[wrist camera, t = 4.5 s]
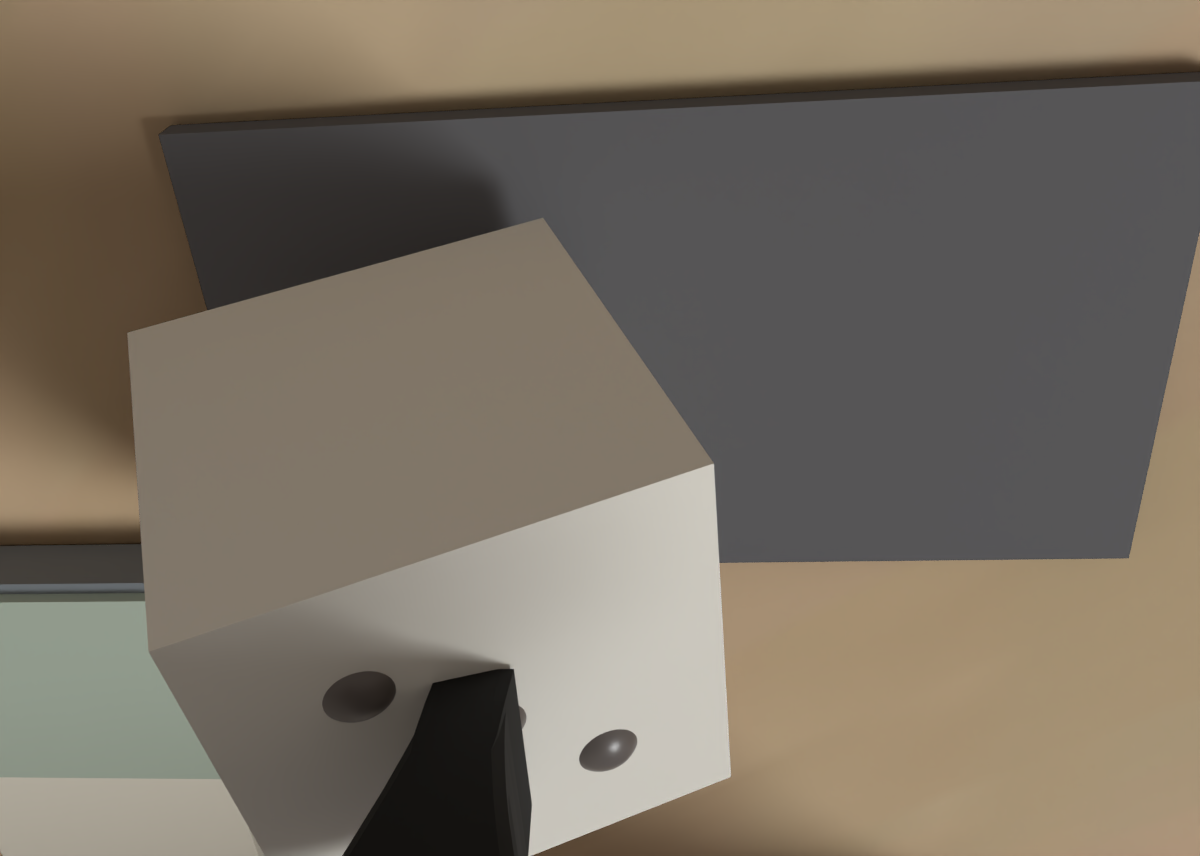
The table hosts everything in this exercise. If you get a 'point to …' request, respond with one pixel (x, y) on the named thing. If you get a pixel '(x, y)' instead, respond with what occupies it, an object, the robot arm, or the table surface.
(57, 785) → the board
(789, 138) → the mat
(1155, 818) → the table surface
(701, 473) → the die
